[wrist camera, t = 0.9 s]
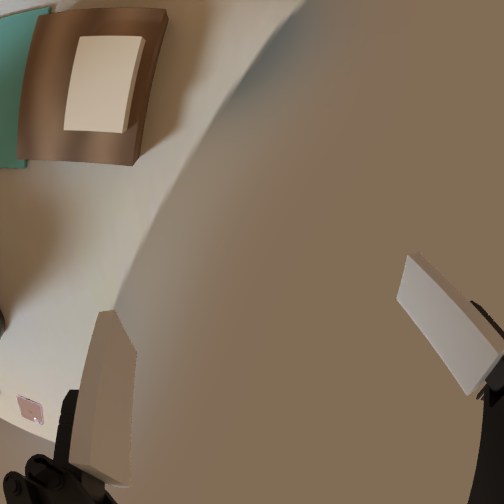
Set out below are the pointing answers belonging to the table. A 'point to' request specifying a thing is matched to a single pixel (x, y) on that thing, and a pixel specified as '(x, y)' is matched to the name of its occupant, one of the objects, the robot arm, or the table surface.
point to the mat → (13, 79)
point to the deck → (58, 79)
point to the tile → (103, 83)
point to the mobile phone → (30, 409)
